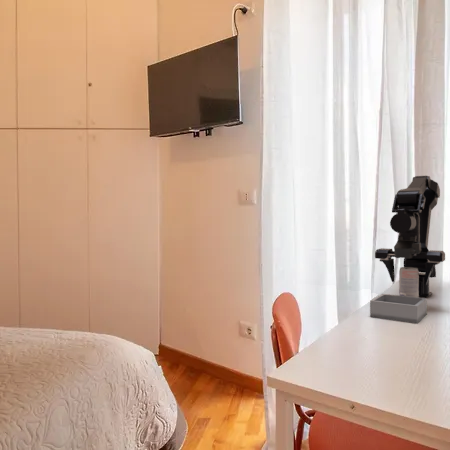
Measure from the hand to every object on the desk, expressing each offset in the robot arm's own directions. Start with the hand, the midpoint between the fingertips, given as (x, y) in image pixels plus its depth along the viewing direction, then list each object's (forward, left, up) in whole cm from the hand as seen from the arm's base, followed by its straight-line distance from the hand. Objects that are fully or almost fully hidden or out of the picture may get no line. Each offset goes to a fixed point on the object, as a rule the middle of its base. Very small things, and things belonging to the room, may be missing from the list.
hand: (408, 283), depth 123 cm
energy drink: (0, 0, -8) cm, 8 cm away
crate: (+12, 0, -7) cm, 14 cm away
